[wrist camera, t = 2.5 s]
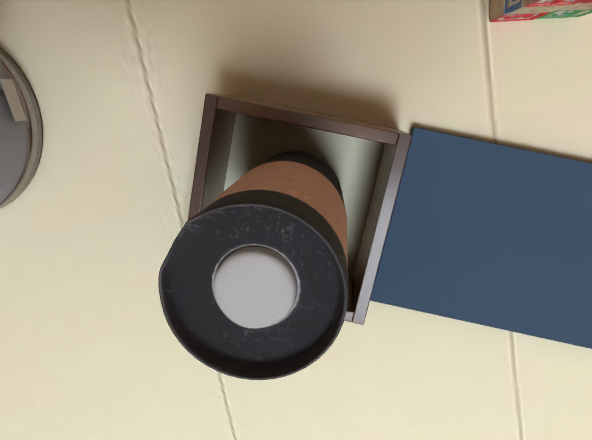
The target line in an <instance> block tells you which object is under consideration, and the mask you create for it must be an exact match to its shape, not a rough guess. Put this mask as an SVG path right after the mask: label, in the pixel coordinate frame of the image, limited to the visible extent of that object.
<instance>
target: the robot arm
mask: <svg viewBox="0 0 592 440" xmlns="http://www.w3.org/2000/svg"><path fill="white" fill-rule="evenodd" d="M41 148H42V126H41V119H40V114H39V110H38V106H37V103H36V100H35V97H34V95H33V93H32V90H31V88H30V86H29V84H28V82H27V81H26V79H25V77H24V76H23V74H22V73H21V71H20V70H19V68H18V67H17V66H16V65H15V63H14V62H13V61H12V60H11V59H10V58H9V57H8V55H7V54H6V53H5V52H3V51H2V50H1V49H0V208H2V207H4V206H6V205H8V204H9V203H11V202H12V201H13V200H15V199H16V198H17V197H18V196H19V195H20V194H21V193H22V192H23V191H24V190H25V188H26V187H27V186H28V184H29V183H30V181H31V179H32V178H33V176H34V174H35V171H36V169H37V166H38V163H39V159H40V155H41Z"/></svg>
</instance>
